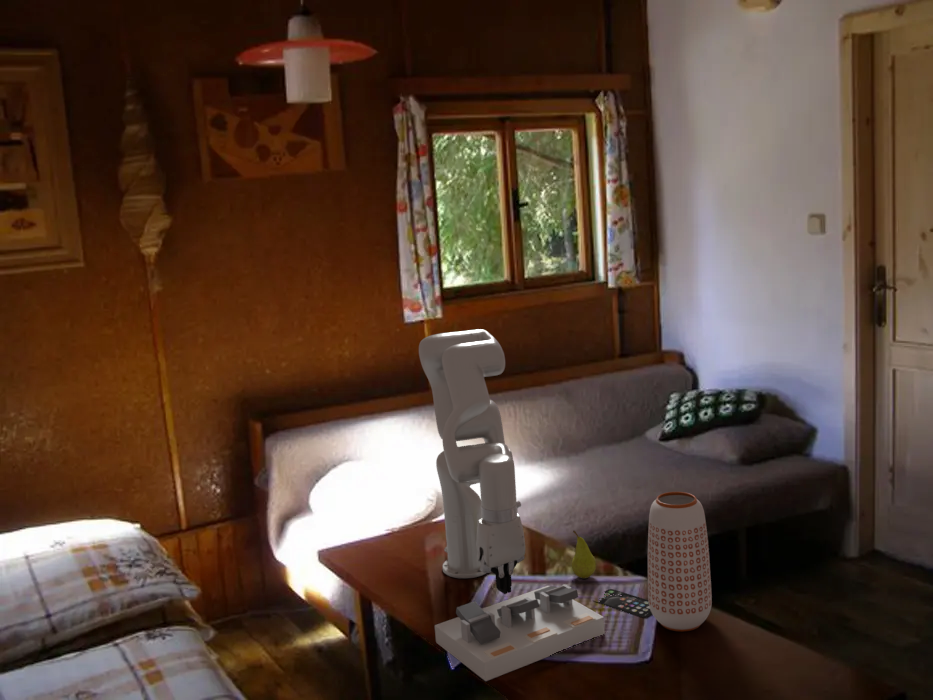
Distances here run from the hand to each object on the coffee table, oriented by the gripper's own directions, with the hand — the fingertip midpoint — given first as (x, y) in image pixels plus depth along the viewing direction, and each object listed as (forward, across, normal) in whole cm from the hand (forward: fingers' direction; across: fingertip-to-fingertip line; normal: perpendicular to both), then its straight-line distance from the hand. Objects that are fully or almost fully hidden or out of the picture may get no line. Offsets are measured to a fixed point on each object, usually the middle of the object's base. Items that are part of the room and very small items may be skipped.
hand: (504, 590), depth 214 cm
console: (+9, 0, +6) cm, 10 cm away
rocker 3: (+2, -10, +6) cm, 11 cm away
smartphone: (+10, -28, +8) cm, 30 cm away
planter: (+9, -31, +22) cm, 39 cm away
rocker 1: (+2, +10, +6) cm, 12 cm away
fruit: (+10, -29, -9) cm, 32 cm away
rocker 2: (+2, 0, +6) cm, 6 cm away
